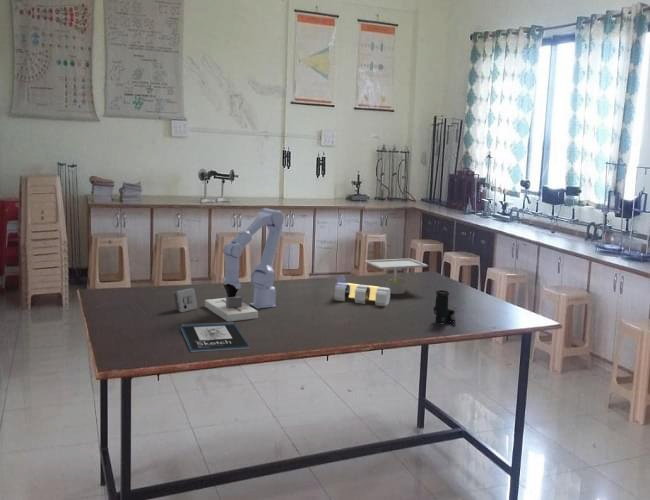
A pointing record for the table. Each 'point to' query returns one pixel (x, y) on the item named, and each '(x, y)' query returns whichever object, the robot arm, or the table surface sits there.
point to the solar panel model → (395, 271)
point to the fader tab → (233, 301)
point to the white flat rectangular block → (231, 310)
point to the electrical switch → (185, 300)
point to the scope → (443, 308)
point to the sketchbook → (213, 337)
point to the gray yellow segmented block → (361, 292)
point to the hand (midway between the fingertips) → (231, 301)
